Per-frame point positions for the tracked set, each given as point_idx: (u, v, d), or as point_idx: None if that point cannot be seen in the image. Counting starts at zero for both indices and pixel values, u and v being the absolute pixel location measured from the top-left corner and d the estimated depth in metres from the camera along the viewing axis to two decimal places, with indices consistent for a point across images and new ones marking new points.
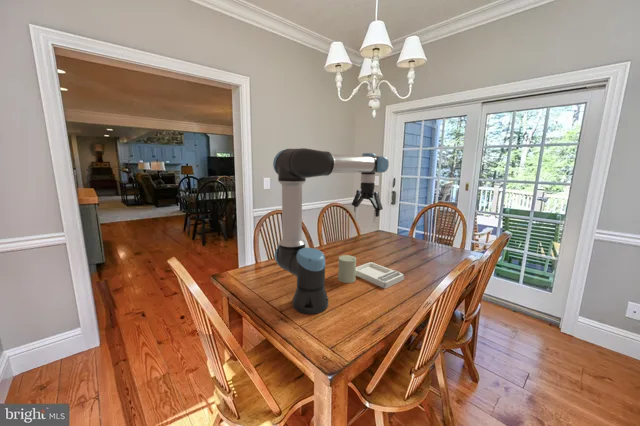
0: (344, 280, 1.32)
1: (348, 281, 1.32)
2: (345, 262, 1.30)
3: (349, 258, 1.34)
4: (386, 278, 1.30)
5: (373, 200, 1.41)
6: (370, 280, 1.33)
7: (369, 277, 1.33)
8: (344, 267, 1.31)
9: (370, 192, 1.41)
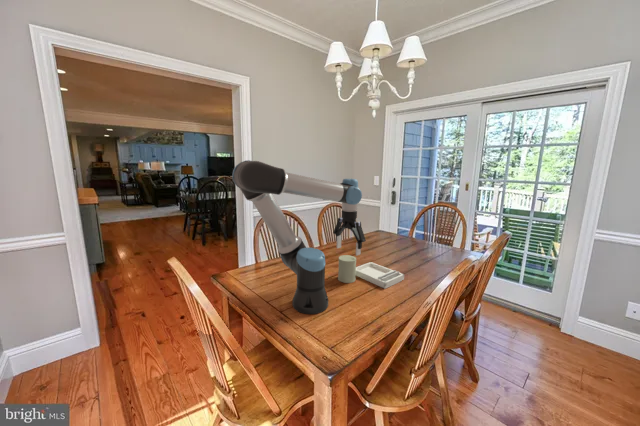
0: (344, 280, 1.32)
1: (348, 281, 1.32)
2: (345, 262, 1.30)
3: (349, 258, 1.34)
4: (386, 278, 1.30)
5: (355, 230, 1.28)
6: (370, 280, 1.33)
7: (369, 277, 1.33)
8: (344, 267, 1.31)
9: (352, 222, 1.27)
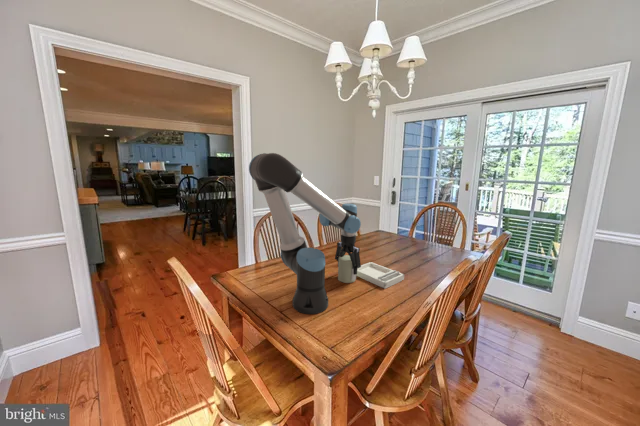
0: (344, 280, 1.32)
1: (348, 281, 1.32)
2: (345, 262, 1.30)
3: (349, 258, 1.34)
4: (386, 278, 1.30)
5: (353, 256, 1.31)
6: (370, 280, 1.33)
7: (369, 277, 1.33)
8: (344, 267, 1.31)
9: (351, 246, 1.30)
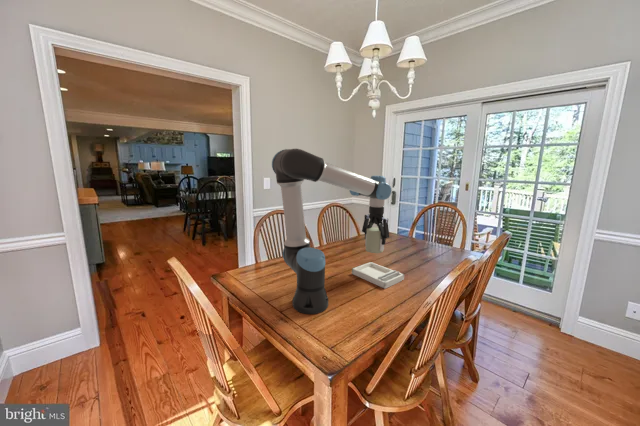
0: (373, 251, 1.35)
1: (376, 251, 1.35)
2: (374, 232, 1.33)
3: (377, 229, 1.37)
4: (386, 278, 1.30)
5: (381, 226, 1.34)
6: (370, 280, 1.33)
7: (369, 277, 1.33)
8: (373, 238, 1.34)
9: (379, 217, 1.33)
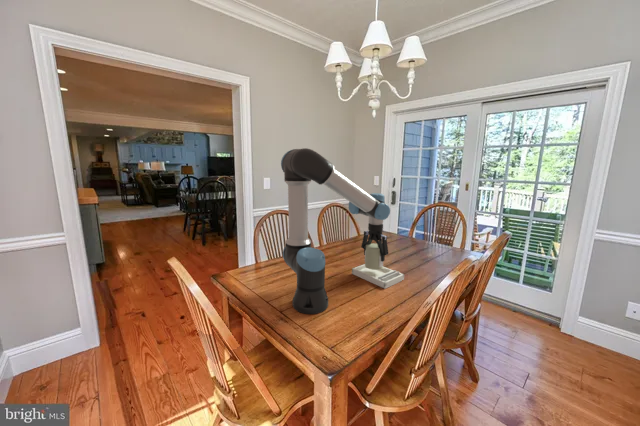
0: (372, 267, 1.37)
1: (376, 268, 1.36)
2: (373, 249, 1.35)
3: (376, 246, 1.39)
4: (386, 278, 1.30)
5: (380, 243, 1.35)
6: (370, 280, 1.33)
7: (369, 277, 1.33)
8: (372, 254, 1.35)
9: (378, 234, 1.34)
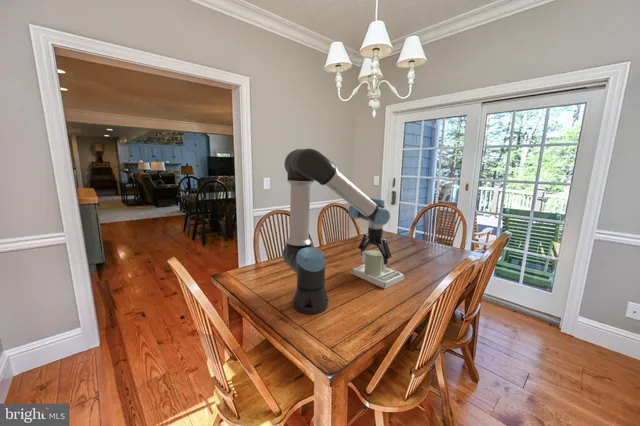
0: (371, 274, 1.37)
1: (375, 275, 1.37)
2: (372, 256, 1.35)
3: (376, 253, 1.39)
4: (386, 278, 1.30)
5: (381, 247, 1.35)
6: (370, 280, 1.33)
7: (369, 277, 1.33)
8: (372, 261, 1.36)
9: (378, 238, 1.35)
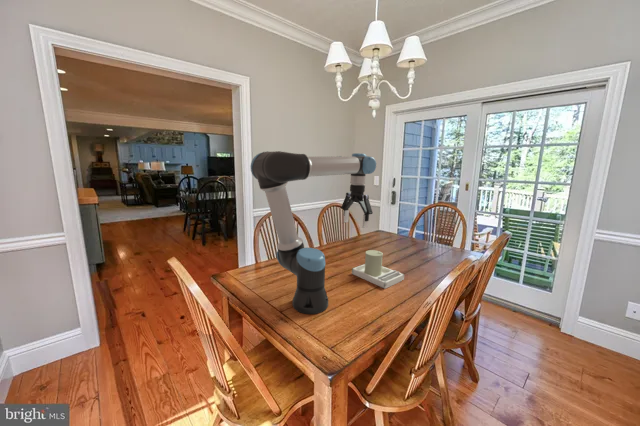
0: (371, 274, 1.37)
1: (375, 275, 1.37)
2: (373, 256, 1.35)
3: (376, 253, 1.39)
4: (386, 278, 1.30)
5: (363, 203, 1.32)
6: (370, 280, 1.33)
7: (369, 277, 1.33)
8: (372, 261, 1.36)
9: (360, 195, 1.32)
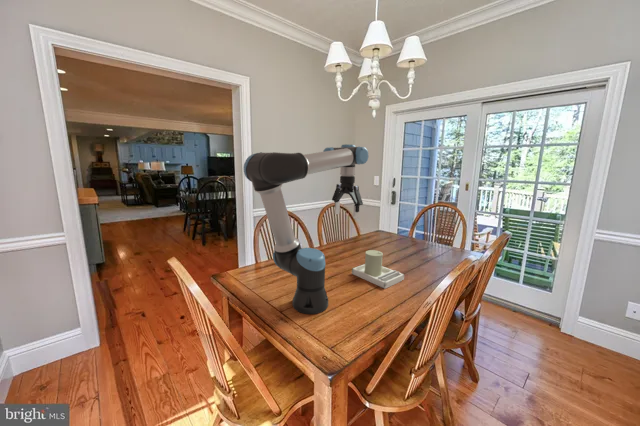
0: (371, 274, 1.37)
1: (375, 275, 1.37)
2: (373, 256, 1.35)
3: (376, 253, 1.39)
4: (386, 278, 1.30)
5: (353, 195, 1.33)
6: (370, 280, 1.33)
7: (369, 277, 1.33)
8: (372, 261, 1.36)
9: (350, 186, 1.32)
